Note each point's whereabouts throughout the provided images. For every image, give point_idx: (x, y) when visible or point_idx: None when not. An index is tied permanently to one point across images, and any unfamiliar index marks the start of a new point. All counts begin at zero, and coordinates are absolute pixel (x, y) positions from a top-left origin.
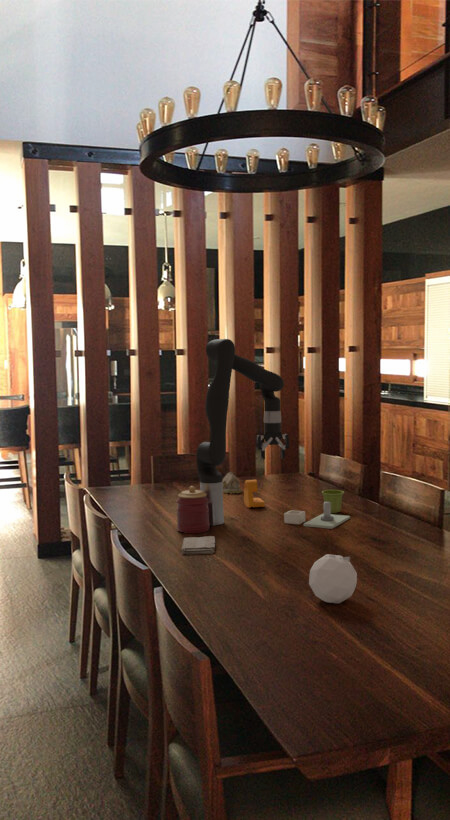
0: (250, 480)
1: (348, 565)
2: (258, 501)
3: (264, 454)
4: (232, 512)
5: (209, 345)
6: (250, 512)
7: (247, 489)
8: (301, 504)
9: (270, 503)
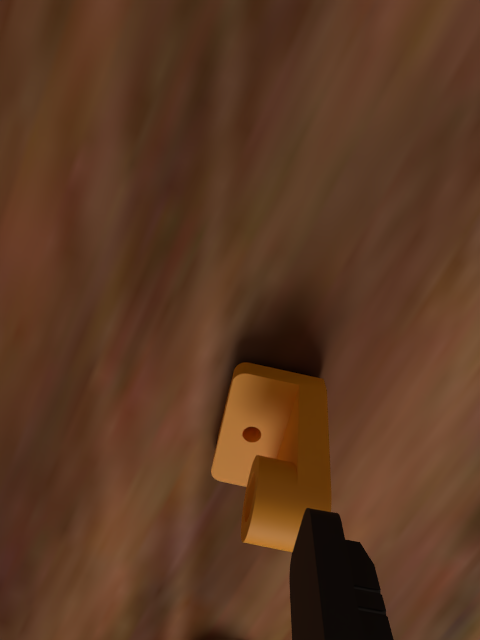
0: (294, 530)
1: None
2: (259, 401)
3: (328, 590)
4: (442, 344)
5: None
6: (360, 295)
7: (329, 465)
8: (27, 334)
9: (166, 429)
